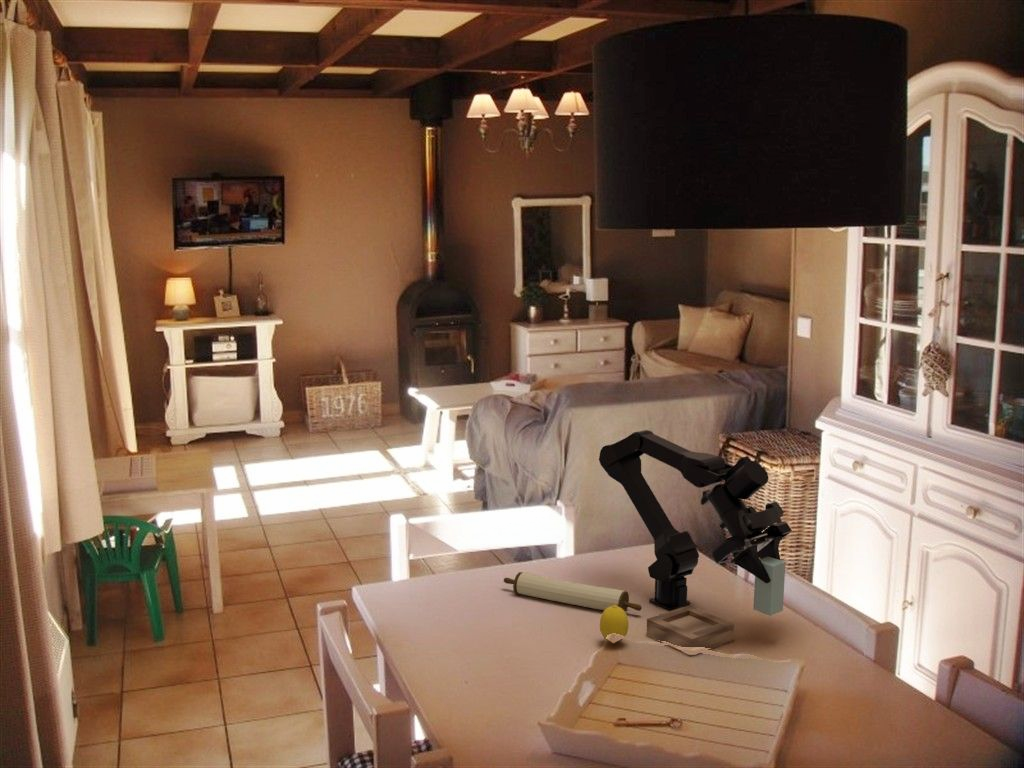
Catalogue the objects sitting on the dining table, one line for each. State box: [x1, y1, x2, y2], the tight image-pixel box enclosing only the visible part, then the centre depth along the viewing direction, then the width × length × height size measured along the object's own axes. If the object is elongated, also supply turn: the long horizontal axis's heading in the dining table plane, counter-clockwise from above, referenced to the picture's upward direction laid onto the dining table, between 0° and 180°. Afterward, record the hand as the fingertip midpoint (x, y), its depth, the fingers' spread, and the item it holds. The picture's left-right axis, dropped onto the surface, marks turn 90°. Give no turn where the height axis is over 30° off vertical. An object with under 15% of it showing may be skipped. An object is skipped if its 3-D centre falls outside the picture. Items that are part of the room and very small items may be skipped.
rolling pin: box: [503, 571, 642, 613], centre depth 222 cm, size 32×6×5 cm, turn 63°
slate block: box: [752, 556, 787, 617], centre depth 202 cm, size 4×4×10 cm
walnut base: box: [646, 604, 735, 650], centre depth 205 cm, size 12×12×4 cm
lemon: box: [599, 605, 630, 640], centre depth 202 cm, size 6×6×8 cm
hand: (775, 579), depth 201 cm, fingers closed on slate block, 4 cm apart
